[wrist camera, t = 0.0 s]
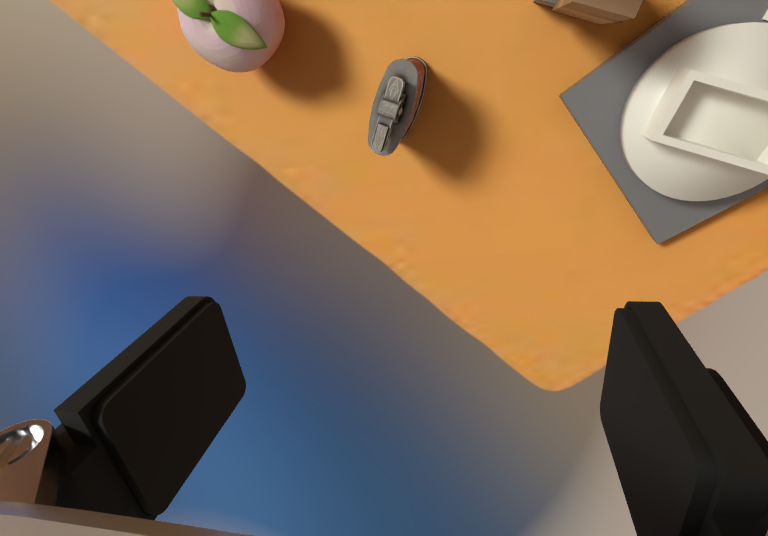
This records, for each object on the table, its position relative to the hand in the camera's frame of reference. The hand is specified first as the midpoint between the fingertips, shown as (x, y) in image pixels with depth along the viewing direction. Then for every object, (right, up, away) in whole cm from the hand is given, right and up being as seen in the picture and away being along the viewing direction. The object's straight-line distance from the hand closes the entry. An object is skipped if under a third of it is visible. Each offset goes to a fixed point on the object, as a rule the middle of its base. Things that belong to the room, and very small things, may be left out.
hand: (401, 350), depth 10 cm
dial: (+28, +15, +27) cm, 41 cm away
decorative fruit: (-13, +26, +32) cm, 44 cm away
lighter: (+2, +19, +33) cm, 38 cm away
